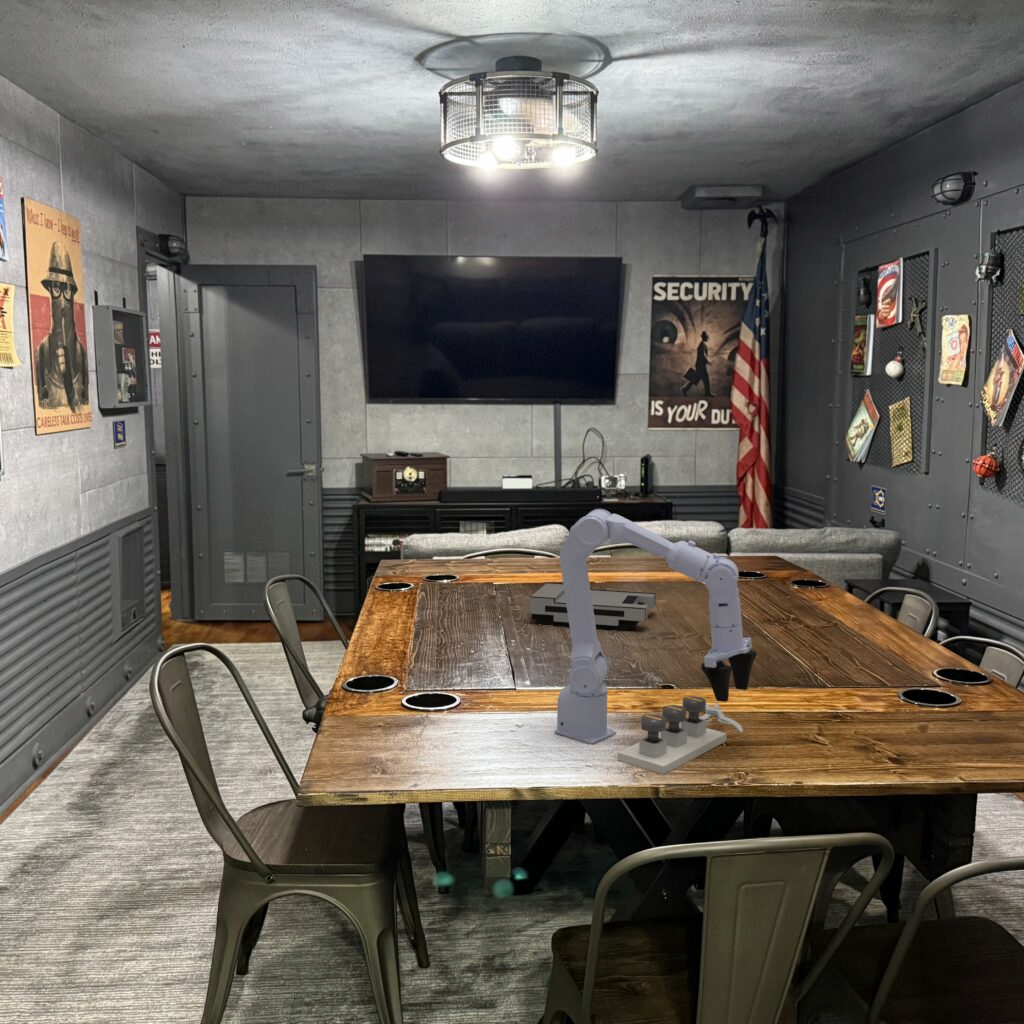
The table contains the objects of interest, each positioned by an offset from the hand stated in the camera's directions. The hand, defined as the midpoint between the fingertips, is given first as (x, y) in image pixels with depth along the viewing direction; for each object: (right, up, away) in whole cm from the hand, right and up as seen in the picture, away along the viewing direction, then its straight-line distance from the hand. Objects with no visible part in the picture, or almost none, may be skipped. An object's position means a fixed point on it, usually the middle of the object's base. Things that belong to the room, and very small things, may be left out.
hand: (732, 694), depth 194 cm
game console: (-18, +3, +99) cm, 101 cm away
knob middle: (-11, -7, 0) cm, 13 cm away
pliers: (0, -9, +18) cm, 20 cm away
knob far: (-6, -6, +5) cm, 10 cm away
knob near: (-15, -7, -5) cm, 18 cm away
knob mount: (-11, -11, +1) cm, 15 cm away
